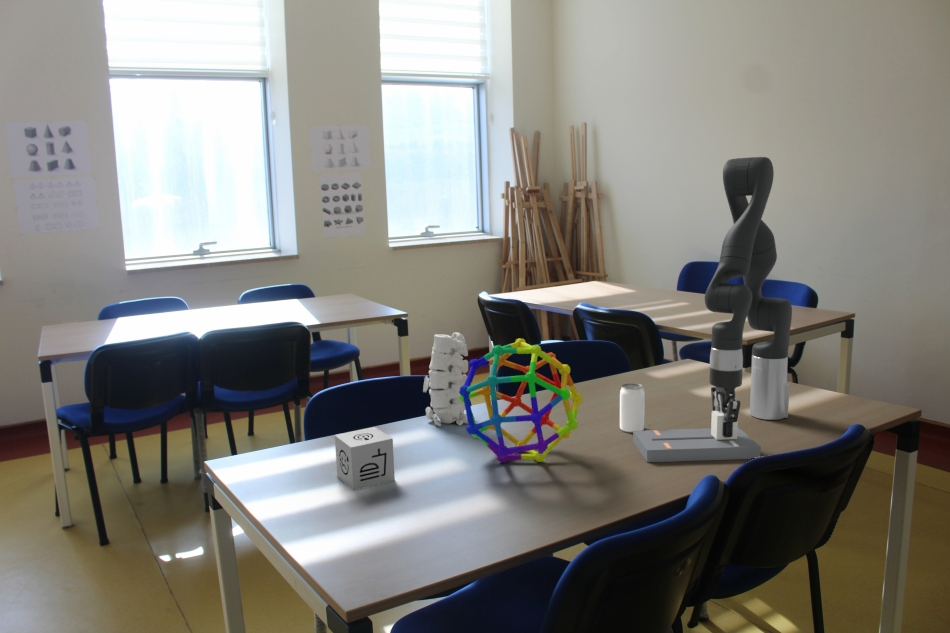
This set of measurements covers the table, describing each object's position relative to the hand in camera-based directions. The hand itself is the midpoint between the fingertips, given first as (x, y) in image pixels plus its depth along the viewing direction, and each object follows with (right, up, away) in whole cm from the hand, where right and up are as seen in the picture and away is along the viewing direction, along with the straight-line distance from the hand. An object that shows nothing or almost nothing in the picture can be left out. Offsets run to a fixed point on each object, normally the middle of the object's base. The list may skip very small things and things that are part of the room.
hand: (723, 433), depth 179 cm
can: (-19, -2, +17) cm, 26 cm away
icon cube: (-86, -9, -11) cm, 88 cm away
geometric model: (-51, -6, -2) cm, 51 cm away
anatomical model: (-68, -1, +28) cm, 74 cm away
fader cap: (0, -1, 0) cm, 1 cm away
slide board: (-7, -4, +1) cm, 8 cm away
